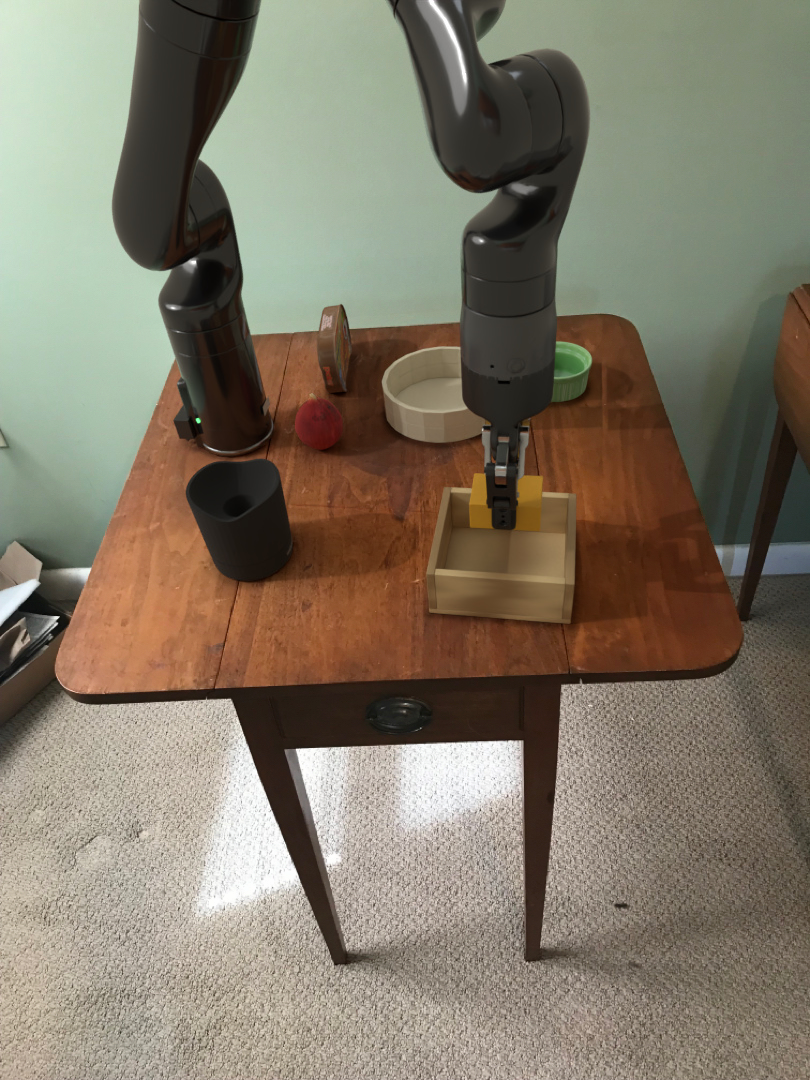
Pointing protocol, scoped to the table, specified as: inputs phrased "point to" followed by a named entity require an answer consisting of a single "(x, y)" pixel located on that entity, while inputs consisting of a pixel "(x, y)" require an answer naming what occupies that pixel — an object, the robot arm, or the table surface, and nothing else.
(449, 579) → the box
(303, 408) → the onion
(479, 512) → the yellow rectangular block
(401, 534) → the table surface
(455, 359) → the bowl
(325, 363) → the tin
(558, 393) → the ramekin
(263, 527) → the pen holder
